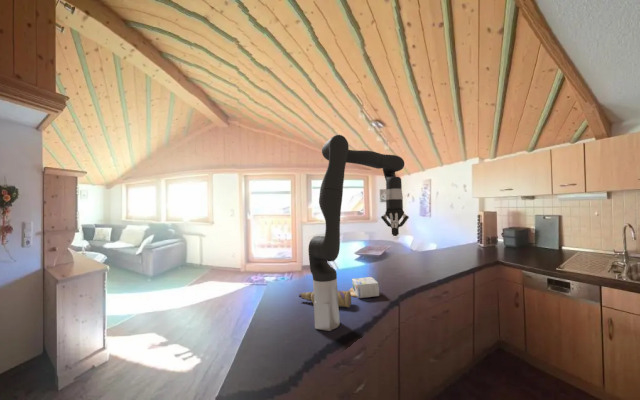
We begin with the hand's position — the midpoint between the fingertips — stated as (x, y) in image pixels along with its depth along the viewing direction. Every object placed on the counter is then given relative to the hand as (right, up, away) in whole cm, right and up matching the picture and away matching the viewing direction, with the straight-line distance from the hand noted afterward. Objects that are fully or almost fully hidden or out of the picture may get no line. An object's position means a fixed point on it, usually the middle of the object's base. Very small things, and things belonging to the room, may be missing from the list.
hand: (395, 235), depth 110 cm
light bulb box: (-7, -27, +9) cm, 29 cm away
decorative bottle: (-32, -32, 0) cm, 46 cm away
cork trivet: (-16, -31, +12) cm, 37 cm away
